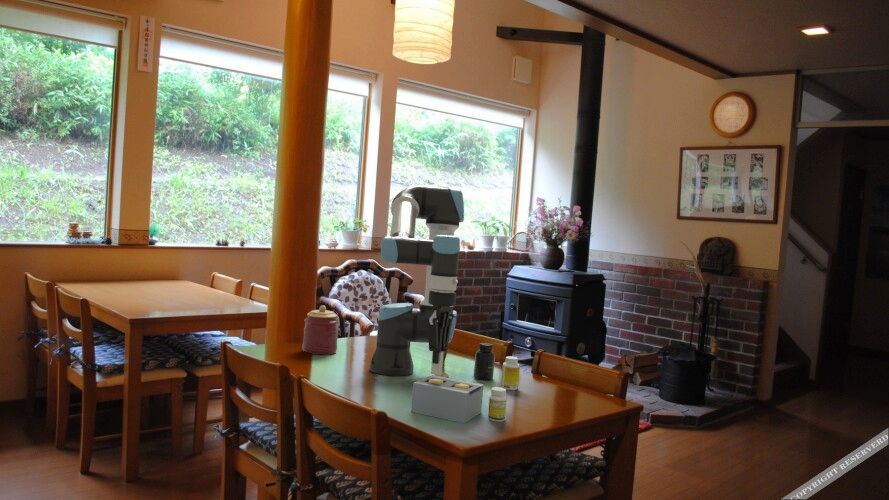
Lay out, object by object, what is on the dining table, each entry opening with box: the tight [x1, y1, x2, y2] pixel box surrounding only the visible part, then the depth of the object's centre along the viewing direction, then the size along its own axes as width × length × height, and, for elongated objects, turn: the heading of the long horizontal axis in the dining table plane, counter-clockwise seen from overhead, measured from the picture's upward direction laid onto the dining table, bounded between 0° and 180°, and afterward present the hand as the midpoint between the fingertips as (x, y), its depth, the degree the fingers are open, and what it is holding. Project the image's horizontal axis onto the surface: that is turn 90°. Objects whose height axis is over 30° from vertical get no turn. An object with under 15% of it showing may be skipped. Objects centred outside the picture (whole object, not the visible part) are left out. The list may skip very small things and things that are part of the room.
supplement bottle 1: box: [473, 342, 496, 381], centre depth 225 cm, size 7×7×12 cm
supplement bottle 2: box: [487, 386, 507, 423], centre depth 178 cm, size 5×5×8 cm
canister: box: [302, 305, 340, 356], centre depth 248 cm, size 13×13×18 cm
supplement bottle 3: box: [500, 355, 521, 391], centre depth 214 cm, size 6×6×10 cm
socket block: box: [410, 374, 484, 424], centre depth 181 cm, size 16×12×8 cm
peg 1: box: [429, 379, 443, 384], centre depth 183 cm, size 4×4×8 cm
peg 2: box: [455, 384, 469, 390], centre depth 180 cm, size 4×4×8 cm
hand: (436, 374), depth 183 cm, fingers closed
